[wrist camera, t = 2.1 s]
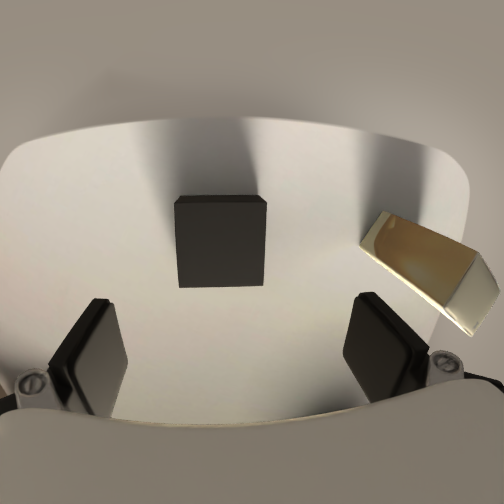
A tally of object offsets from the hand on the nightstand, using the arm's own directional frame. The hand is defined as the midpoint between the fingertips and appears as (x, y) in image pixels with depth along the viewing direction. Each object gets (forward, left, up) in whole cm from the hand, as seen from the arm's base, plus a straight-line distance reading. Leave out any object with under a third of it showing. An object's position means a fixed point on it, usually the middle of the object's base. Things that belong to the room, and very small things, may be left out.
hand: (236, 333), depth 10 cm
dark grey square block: (0, 0, -13) cm, 13 cm away
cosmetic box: (+16, -1, -14) cm, 21 cm away
